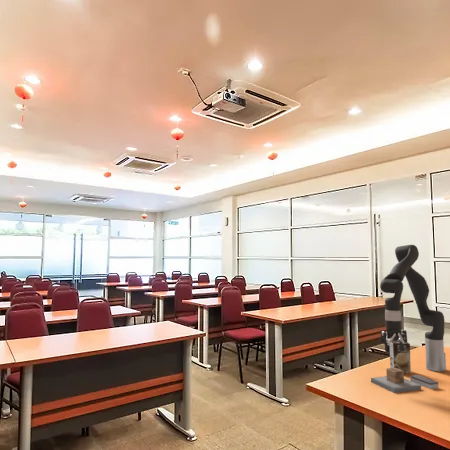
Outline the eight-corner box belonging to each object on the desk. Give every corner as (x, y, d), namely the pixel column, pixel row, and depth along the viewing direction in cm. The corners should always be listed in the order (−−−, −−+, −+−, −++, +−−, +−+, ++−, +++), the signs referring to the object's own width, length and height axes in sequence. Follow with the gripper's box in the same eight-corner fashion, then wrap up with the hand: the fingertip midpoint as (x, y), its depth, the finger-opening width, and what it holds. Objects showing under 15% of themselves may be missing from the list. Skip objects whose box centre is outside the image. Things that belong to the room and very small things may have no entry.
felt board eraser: (410, 382, 188) (410, 375, 189) (417, 381, 190) (417, 374, 190) (430, 390, 177) (430, 383, 177) (438, 388, 179) (438, 382, 179)
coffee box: (394, 372, 202) (393, 343, 204) (389, 369, 209) (389, 340, 210) (411, 373, 201) (410, 343, 203) (406, 369, 208) (405, 341, 209)
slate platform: (396, 378, 192) (396, 374, 192) (421, 389, 177) (420, 385, 177) (371, 381, 187) (370, 377, 187) (394, 393, 172) (394, 388, 172)
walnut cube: (395, 378, 186) (395, 367, 186) (403, 382, 180) (403, 371, 181) (386, 379, 184) (386, 368, 184) (394, 383, 179) (394, 372, 179)
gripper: (398, 317, 190) (400, 348, 189) (376, 318, 186) (377, 351, 185) (410, 319, 183) (411, 352, 182) (387, 321, 179) (388, 355, 178)
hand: (394, 351), depth 183 cm, fingers open, 8 cm apart
